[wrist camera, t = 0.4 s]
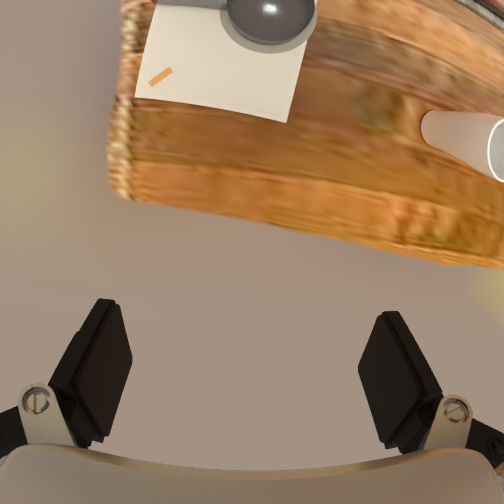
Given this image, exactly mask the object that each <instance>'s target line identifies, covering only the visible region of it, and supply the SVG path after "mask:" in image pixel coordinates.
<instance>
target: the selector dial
mask: <svg viewBox="0 0 504 504" xmlns="http://www.w3.org/2000/svg"><path fill="white" fill-rule="evenodd" d="M151 1H152V2H154V3H155V4H178V5H191V6H202V7H211V8H219V9H226V10H228V15H229V19H230V22H231V24H232V26H233V27H234V29H235V30H236V31H237V32H238V33H239V34H240V35H241V36H243V37H244V38H245V39H247V40H249V41H251V42H254V43H257V44H261V45H280V44H284V43H287V42H289V41H291V40H293V39H295V38H296V37H298V36H299V35H300V34H301V33H302V32H303V31H304V29H305V28H306V27H307V26H308V25H309V23H310V22H311V20H312V18H313V16H314V12H315V1H314V0H151Z"/></svg>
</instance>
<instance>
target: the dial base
mask: <svg viewBox="0 0 504 504" xmlns="http://www.w3.org/2000/svg"><path fill="white" fill-rule="evenodd" d="M314 1H315V12H314V16H313V18H312V20H311V22H310V23H309V25H308V26H307V27H306V28H305V29H304V31H303V32H302V33H301V34H300V35H299V36H298V37H296V38H295V39H293V40H291V41H289V42H287V43H284V44H280V45H261V44H257V43H254V42H251V41H249V40H247V39H245V38H244V37H243V36H241V35H240V34H239V33H238V32H237V31H236V30H235V29H234V27H233V26H232V24H231V22H230V19H229V15H228V10H226V9H219V8H211V7H202V6H191V5H178V4H157V5H156V8H155V12H154V15H153V19H152V22H151V26H150V30H149V34H148V37H147V41H146V45H145V50H144V54H143V58H142V63H141V67H140V72H139V77H138V82H137V87H136V92H135V97H139V98H149V99H158V100H167V101H174V102H182V103H189V104H195V105H201V106H208V107H213V108H219V109H224V110H230V111H235V112H240V113H245V114H249V115H254V116H259V117H263V118H267V119H272V120H276V121H280V122H284V123H286V122H287V118H288V114H289V110H290V106H291V102H292V98H293V94H294V90H295V87H296V83H297V79H298V75H299V71H300V67H301V63H302V59H303V55H304V51H305V48H306V44H307V40H308V38H309V37H310V36H311V34H312V33H313V31H314V29H315V26H316V23H317V8H316V5H317V1H318V0H314Z"/></svg>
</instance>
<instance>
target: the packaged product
mask: <svg viewBox="0 0 504 504" xmlns="http://www.w3.org/2000/svg"><path fill="white" fill-rule="evenodd" d="M456 1H457V2H459V3H461V4H462V5H464V6H466V7H467V8H469V9H470V10H471V11H473V12H474V13H476V14H477V15H479V16H480V17H482V18H483V19H485V20H486V21H488V22H489V23H490V24H492V25H493V26H495V27H496V28H497V29H499V30H500V31H501V32H503V33H504V0H456Z"/></svg>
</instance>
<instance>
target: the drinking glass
mask: <svg viewBox="0 0 504 504" xmlns="http://www.w3.org/2000/svg"><path fill="white" fill-rule="evenodd" d="M421 134H422V137H423V139H424V140H425V142H426V143H427V144H428V145H430V146H431V147H434V148H436V149H439V150H441V151H443V152H445V153H446V154H448V155H450V156H452V157H454V158H455V159H457V160H459V161H461V162H462V163H464V164H466V165H467V166H469V167H471V168H473V169H474V170H476V171H478V172H480V173H482V174H484V175H486V176H488V177H491V178H493V179H496V180H498V181H500V182H504V117H502V116H498V115H494V114H489V113H482V112H463V111H441V110H432V111H429V112H428V113H426V114H425V116H424V117H423V119H422V122H421Z"/></svg>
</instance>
